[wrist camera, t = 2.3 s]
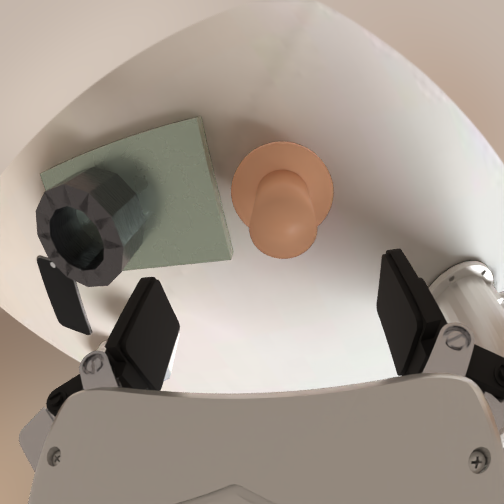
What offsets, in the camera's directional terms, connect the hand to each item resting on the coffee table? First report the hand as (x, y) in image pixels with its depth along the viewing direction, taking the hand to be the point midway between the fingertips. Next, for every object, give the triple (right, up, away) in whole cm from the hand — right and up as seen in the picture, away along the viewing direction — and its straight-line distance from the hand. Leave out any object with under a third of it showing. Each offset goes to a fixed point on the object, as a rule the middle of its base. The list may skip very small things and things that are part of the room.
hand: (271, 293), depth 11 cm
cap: (+2, +8, +14) cm, 16 cm away
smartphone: (-30, -5, +26) cm, 40 cm away
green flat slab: (-14, +7, +16) cm, 22 cm away
